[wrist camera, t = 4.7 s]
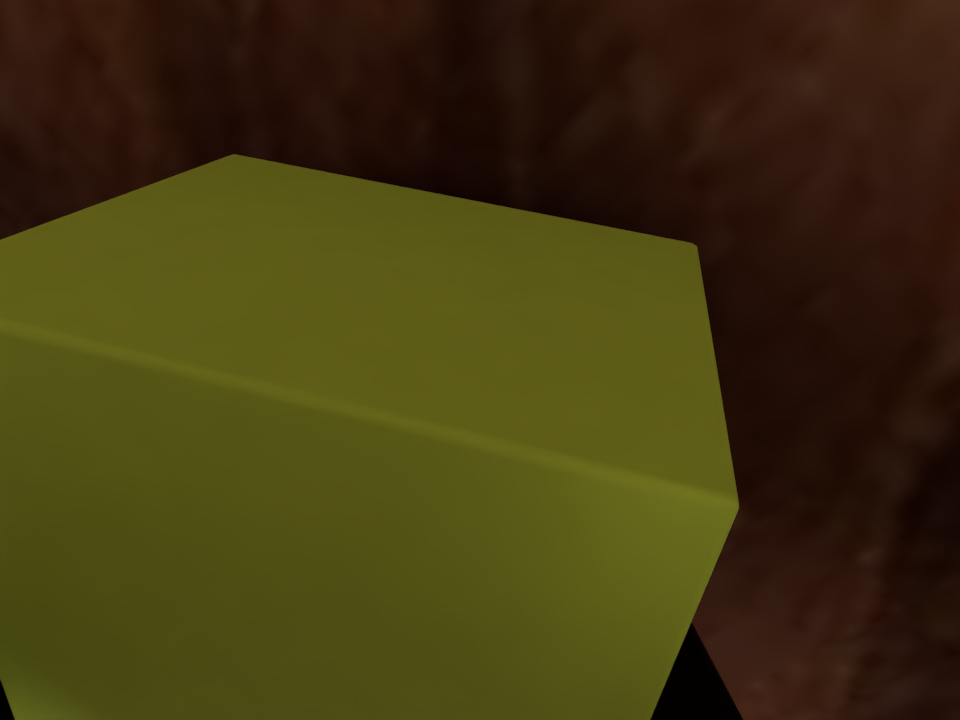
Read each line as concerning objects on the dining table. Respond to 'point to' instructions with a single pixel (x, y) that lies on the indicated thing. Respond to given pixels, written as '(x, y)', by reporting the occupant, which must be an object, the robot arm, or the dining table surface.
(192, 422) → the sponge
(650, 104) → the dining table surface
